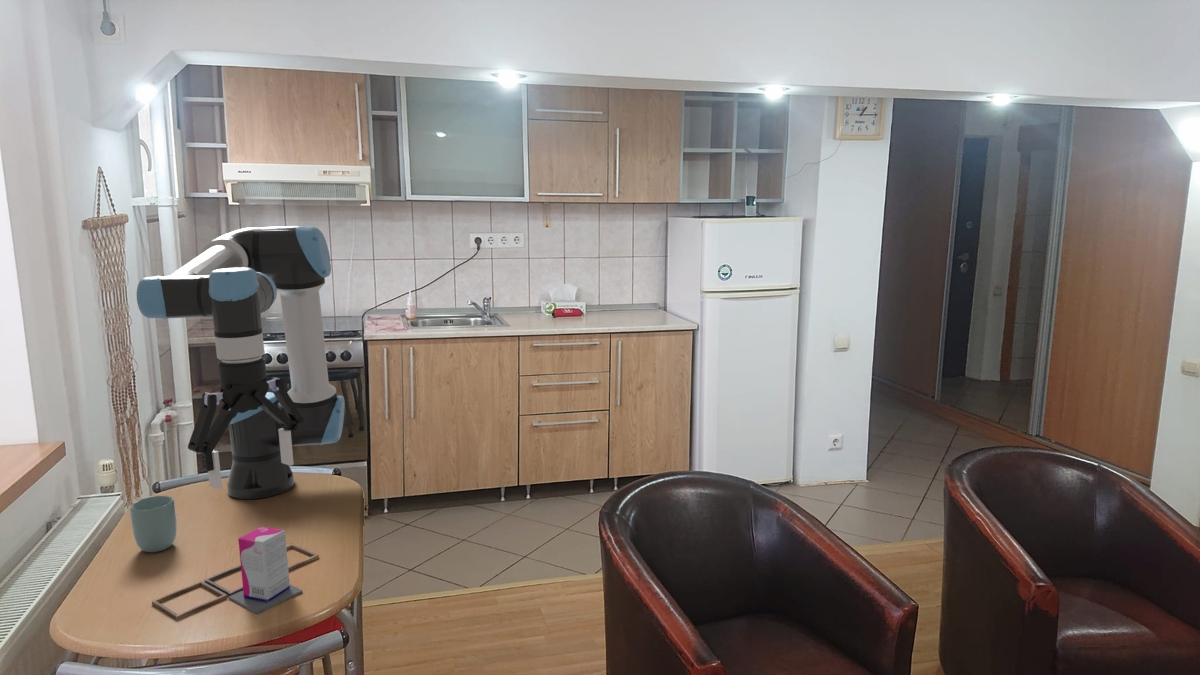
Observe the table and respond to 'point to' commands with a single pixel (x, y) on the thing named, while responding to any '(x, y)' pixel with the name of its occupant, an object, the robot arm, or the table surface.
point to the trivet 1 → (178, 616)
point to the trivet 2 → (314, 556)
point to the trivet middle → (209, 580)
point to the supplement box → (264, 564)
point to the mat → (260, 605)
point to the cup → (154, 523)
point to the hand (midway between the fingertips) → (253, 475)
